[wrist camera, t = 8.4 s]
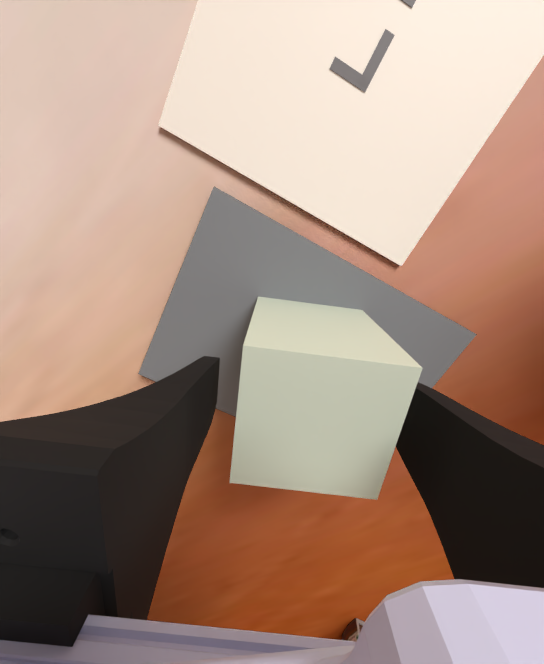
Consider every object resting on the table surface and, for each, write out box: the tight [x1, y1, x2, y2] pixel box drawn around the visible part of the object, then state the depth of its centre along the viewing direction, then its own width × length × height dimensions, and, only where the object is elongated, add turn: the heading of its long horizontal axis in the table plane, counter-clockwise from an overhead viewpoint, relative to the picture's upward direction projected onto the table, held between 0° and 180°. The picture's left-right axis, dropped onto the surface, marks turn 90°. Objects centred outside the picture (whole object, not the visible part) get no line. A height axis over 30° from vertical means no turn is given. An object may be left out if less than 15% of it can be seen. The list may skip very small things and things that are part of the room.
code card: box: [158, 0, 544, 266], centre depth 10 cm, size 12×14×1 cm
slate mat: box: [138, 187, 477, 417], centre depth 15 cm, size 14×10×1 cm
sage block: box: [230, 297, 423, 500], centre depth 11 cm, size 5×5×6 cm
